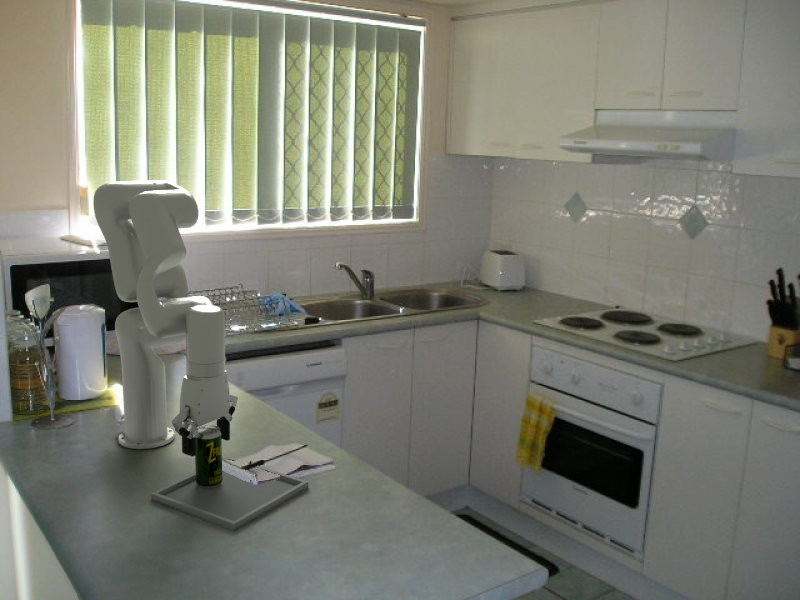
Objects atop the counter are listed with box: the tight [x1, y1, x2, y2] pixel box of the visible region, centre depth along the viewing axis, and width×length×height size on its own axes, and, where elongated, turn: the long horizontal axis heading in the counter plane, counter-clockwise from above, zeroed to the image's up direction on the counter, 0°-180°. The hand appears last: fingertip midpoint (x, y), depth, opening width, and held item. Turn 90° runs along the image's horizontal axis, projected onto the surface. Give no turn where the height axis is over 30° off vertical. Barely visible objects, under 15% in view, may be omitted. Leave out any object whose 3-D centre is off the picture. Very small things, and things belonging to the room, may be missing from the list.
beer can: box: [193, 424, 223, 489], centre depth 169 cm, size 5×5×12 cm
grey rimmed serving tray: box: [150, 456, 309, 532], centre depth 167 cm, size 22×22×2 cm
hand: (206, 446), depth 170 cm, fingers open, 9 cm apart
